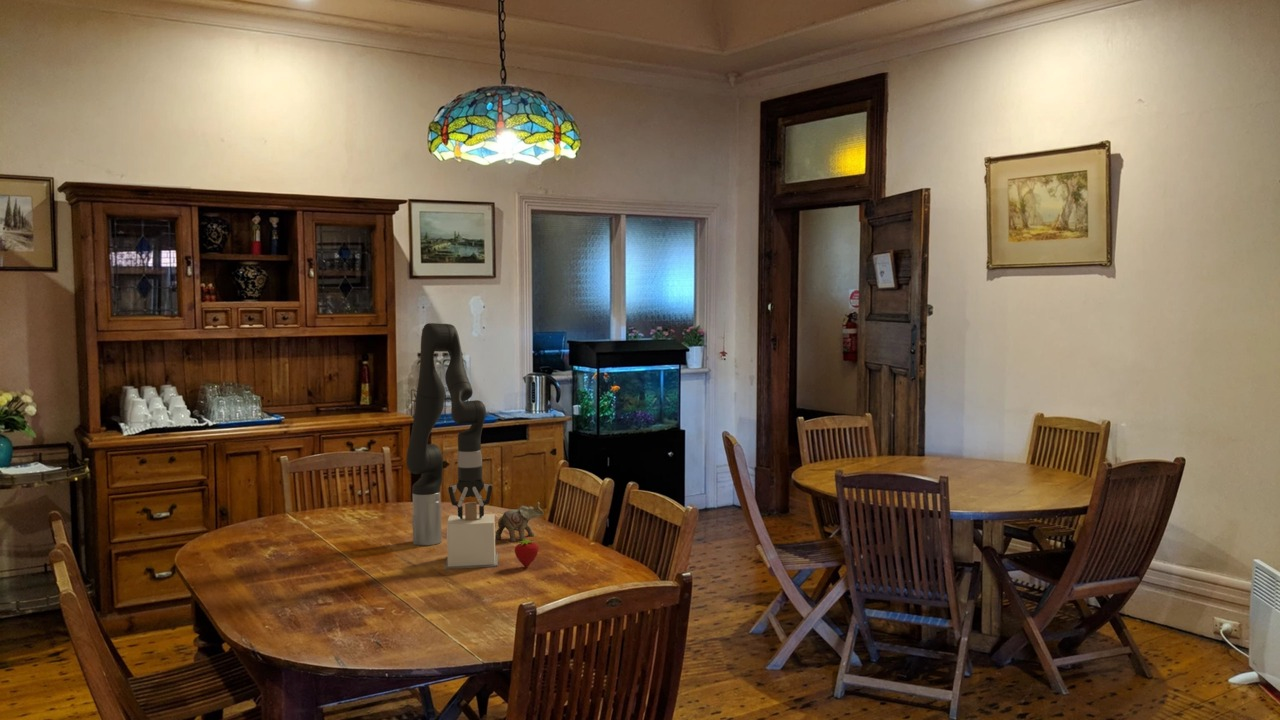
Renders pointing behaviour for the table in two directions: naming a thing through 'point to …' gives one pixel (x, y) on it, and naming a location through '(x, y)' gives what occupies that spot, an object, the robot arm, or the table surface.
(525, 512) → the figurine
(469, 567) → the mat
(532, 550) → the strawberry
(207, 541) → the table surface
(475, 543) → the cover
